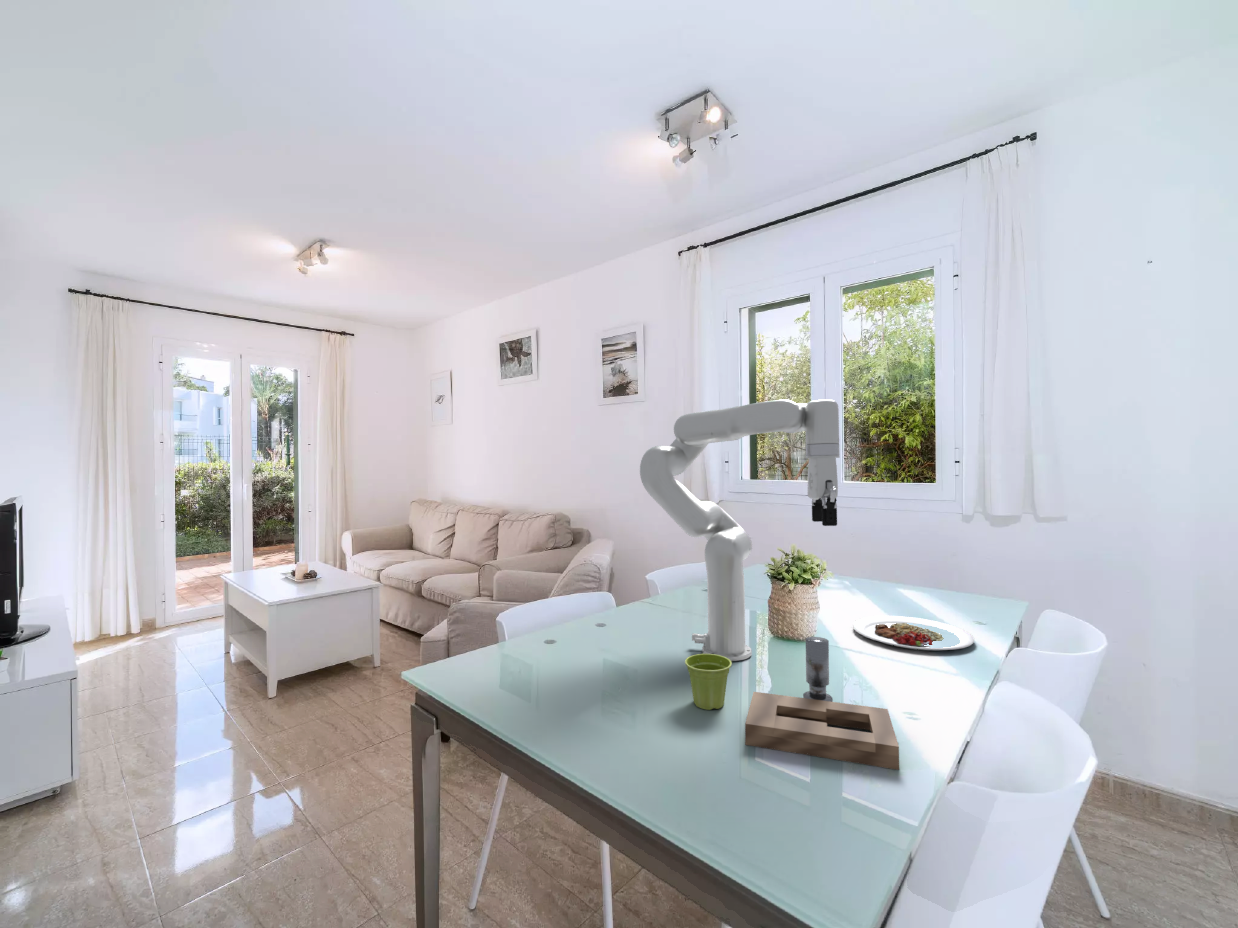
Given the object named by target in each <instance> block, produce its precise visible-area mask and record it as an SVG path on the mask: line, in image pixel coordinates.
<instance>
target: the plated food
mask: <svg viewBox="0 0 1238 928" xmlns="http://www.w3.org/2000/svg"><path fill="white" fill-rule="evenodd" d="M886 623H896V624H892V625H891V626H890V628H888V625H885V624H886ZM907 623H913V624H922V625H925V626H932V627H937V628H939V629H943V630H947V631H948V632H951V633H954V635H956V636H957V637H958V638H959V640H960V643H959V644H957V645H955V646H951V647H943V648H929V647H931V646H924V645H927V644H929V645H933V644H932V642H933V641H942V640H943V639H944V638H943V637H942V634H940V633H937V632H934V631H931V630H929V629H926V628H925V629H923V628H922V627H918V626H914V625H909V624H907ZM877 624H879V625H877ZM852 628H853V630H854V631H856V633H858V634H860V635H862V636H863V637H865V638H868V639H871V640H873V641H877V642H880V643H882V644H886V645H889V646H893V645H894V646H893V647H897V648H898V647H899V648H904V649H908V650H917V649H918V650H919V651H948V650H950V651H951V650H960V649H965V648H967V647H971V646H972V645H973V644H974V643H975V638H974V636H973V635H972V633H970V632H968V631H966V630H965V629H964V628H963V629H962V628H960V627H957V626H956V625H951V624H949V623H945V622H941V621H936V620H933V619H931V620H930V619H926V618H922V617H921V618H920V617H911V616H902V615H901V616H900V615H873V616H866V617H862V618H859V619H857V620H855V621H853V623H852Z"/></svg>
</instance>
